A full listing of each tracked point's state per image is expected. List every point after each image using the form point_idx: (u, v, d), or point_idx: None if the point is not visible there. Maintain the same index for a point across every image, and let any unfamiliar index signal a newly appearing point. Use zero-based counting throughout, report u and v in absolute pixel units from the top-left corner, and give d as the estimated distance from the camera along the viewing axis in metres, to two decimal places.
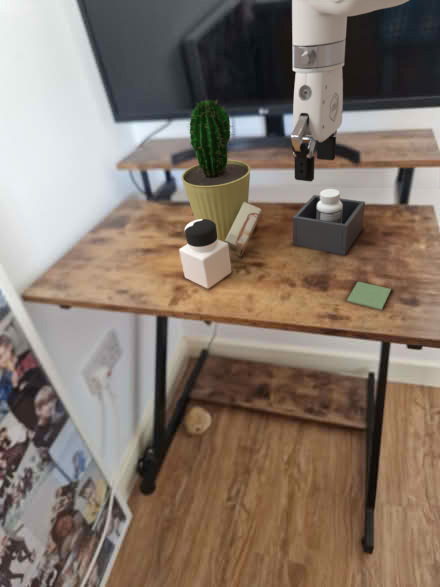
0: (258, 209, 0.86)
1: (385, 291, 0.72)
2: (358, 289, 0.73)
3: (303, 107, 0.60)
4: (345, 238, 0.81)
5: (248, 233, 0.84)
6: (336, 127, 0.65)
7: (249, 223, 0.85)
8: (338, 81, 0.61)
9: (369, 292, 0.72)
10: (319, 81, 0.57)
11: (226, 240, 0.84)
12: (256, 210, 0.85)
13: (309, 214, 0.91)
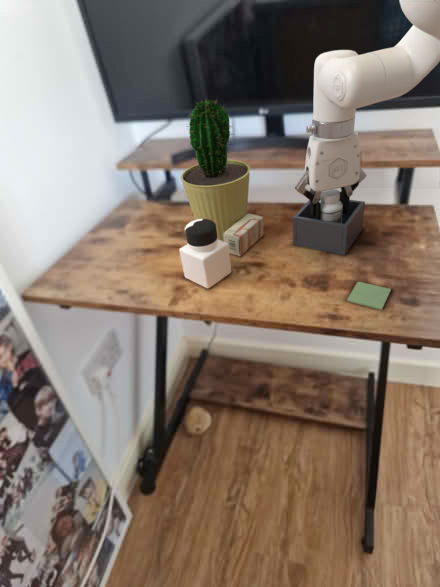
0: (260, 217, 0.91)
1: (385, 291, 0.72)
2: (358, 289, 0.73)
3: (307, 162, 0.79)
4: (345, 238, 0.81)
5: (247, 229, 0.87)
6: (344, 184, 0.80)
7: (249, 223, 0.89)
8: (345, 149, 0.76)
9: (369, 292, 0.72)
10: (315, 148, 0.75)
11: (225, 233, 0.87)
12: (257, 217, 0.91)
13: (309, 214, 0.91)
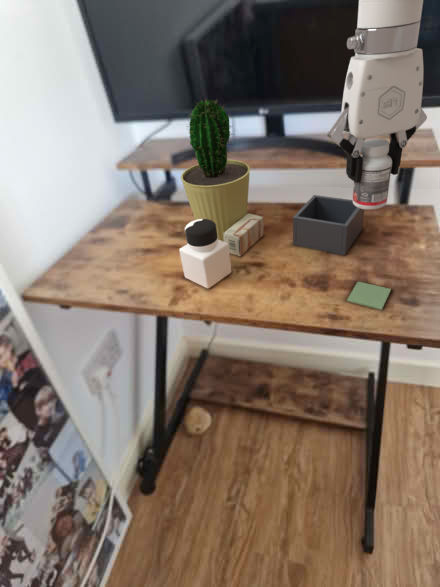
0: (260, 217, 0.91)
1: (385, 291, 0.72)
2: (358, 289, 0.73)
3: (347, 96, 0.56)
4: (345, 238, 0.81)
5: (247, 229, 0.87)
6: (397, 127, 0.57)
7: (249, 223, 0.89)
8: (404, 73, 0.53)
9: (369, 292, 0.72)
10: (361, 70, 0.52)
11: (225, 233, 0.87)
12: (257, 217, 0.91)
13: (309, 214, 0.91)
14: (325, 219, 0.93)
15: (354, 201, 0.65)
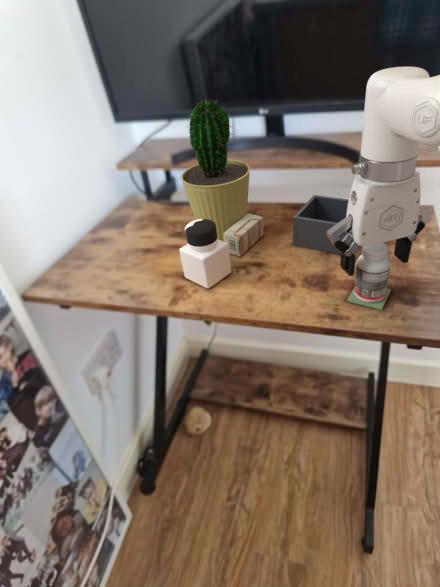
0: (260, 217, 0.91)
1: None
2: None
3: (351, 209, 0.61)
4: None
5: (247, 229, 0.87)
6: (397, 236, 0.62)
7: (249, 223, 0.89)
8: (403, 195, 0.58)
9: None
10: (364, 193, 0.57)
11: (225, 233, 0.87)
12: (257, 217, 0.91)
13: (309, 214, 0.91)
14: (325, 219, 0.93)
15: (355, 293, 0.71)
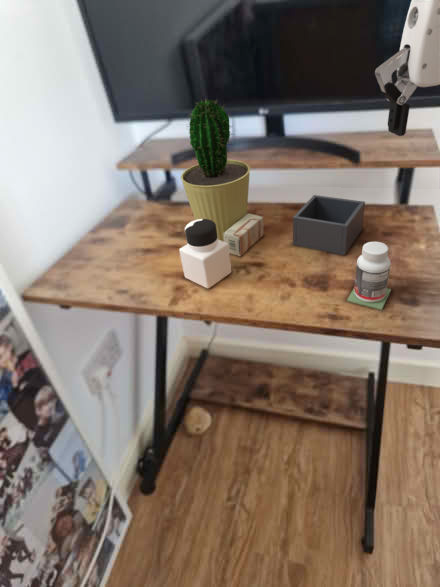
0: (260, 217, 0.91)
1: None
2: None
3: (408, 37, 0.49)
4: (345, 238, 0.81)
5: (247, 229, 0.87)
6: None
7: (249, 223, 0.89)
8: None
9: None
10: (429, 2, 0.45)
11: (225, 233, 0.87)
12: (257, 217, 0.91)
13: (309, 214, 0.91)
14: (325, 219, 0.93)
15: (355, 293, 0.71)
